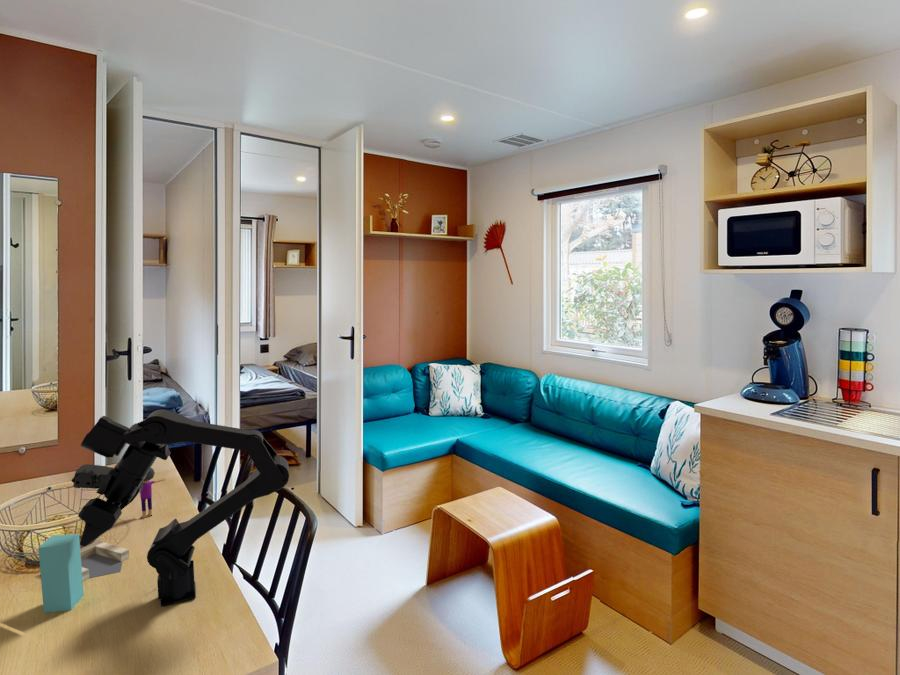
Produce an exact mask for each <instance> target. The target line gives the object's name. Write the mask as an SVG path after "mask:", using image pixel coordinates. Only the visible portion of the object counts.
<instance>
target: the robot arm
mask: <svg viewBox="0 0 900 675" xmlns="http://www.w3.org/2000/svg"><path fill="white" fill-rule="evenodd" d="M84 436H85V437H84V438H83V440H82V441H81V443H80V447H81V448H84V449H85V450H88V451H90V452H93V453H95V454H97V455H100V456H102V457H104V458H107V459H111V458H114V457H115V456H116V457H119V456H120V454H121V453H122V451H123V450H124V449H125V447H126V445H128V446H127V448H126V450H125V451H124V453H123V455H122V456H121V458H120V459H119V461H118V462H117V463H116V464H115V466H114V467H111V466H107V465H99V464H88V463H87V464H82V465H81V466H80V467H79V468H77V469H76V470H75V473H74V476H73V477H72V479H71V482H72V483H73V484H72V487H73V488H75V489H92V490H93V489H94V490H95V489H97V490H96V492H95V493H96V494H98V495H101V496H104V497H105V499H106V500H104V499H102V498H99V497H95V498H91V499H90V500H89V501H88V502H86V503H85V505H83V506H82V508H81V510H80V511H79V513H78V514H77V517H78V518H79V519H80V520H82V521H83V522H84V528H83V531H82V535H81V538H80V547H81V546H82V547H85V546H87V545H90V544H92V543H93V542H94V541H95V540H96V539H98V538H99V537H101V536H102V535H103V534H105V533H107V531H110V530H112V528H113V527H114V526H115V524H116V523H117V521H118V520H119V519H120V517H121V516H122V515H123V512H122V510H124V509H125V508H126V507H127V506H128V505H129V504H130V503H132V502H133V501H134V500H135V499H136V497H137V496H138V495H140V491H141V489H142V488H143V486H144V483H143V480H144V479H145V477H146V476H147V473H148V471H149V470H150V468H152V466H153V465H154V463H155V461H156V460H157V458H158V459H161V460H163V461H166V460H167V459H168V458H169V457H170V455H171V451H170V448H169V445H173V444H180V443H191V444H198V445H199V444H200V445H206V446H212V447H219V448H226V449H231V450H232V449H233V450H239V451H245V452H246V453H247V454H248V456H249V457H250V459H251V461H252V462H253V464H254V466H255V469H254V471H253V472H252V473H251V474H250V475H249V477H248V478H246V480H245V481H243V482H242V483H241V484H239V485H237V486H236V487H235V488H233V489H232V490H230V491H229V492H227V493H226V494H225V495H223V496H222V497H221V498H219V499H217V500H216V501H215V502H213V503H212V504H210V505H209V506H207V507H206V508H204V509H203V510H201V511H200V512H199V513H198V514H196V515H194V516H192V518H190V519H188V520H186V521H183V522H180V523H179V521H178V519H177V518H174V519H173V520H171V521H170V523H168V525H165V526H164V527H160V528H159V529H158V531H157V533H156V535H155V536H154V539H153V542H152V543H151V545H150V547H149V549H148V551H147V555H146V559H147V563H148V565H149V566H151V567H152V568H154V569H155V571H156V573H157V574H158V575H157V581H156V582H157V584H156V586H157V599H158V600H160V606H161V607H164V606H168V605H169V606H170V605H173V604H177V603H182V602H186V601H187V602H188V601H190V600H194V599H196V597H197V596H196V594H197V592H196V581H195V566H194V564H195V563H194V560H192V558H193V554H194V552H195V549H196V547H195V546H194V544H195V543H196V541H197V540H199V539H200V538H201V537H203V536H205V535H206V534H207V533H209V532H210V531H212V530H213V529H214V528H216V527H217V526H219V525H220V524H222V522H224V521H226V520H228V518H230V517H231V516H233V515H235V513H237V512H238V511H240V510H241V509H243V508H244V507H246V506H247V505H248V504H249V503H251V502H253V501H254V500H256V499H259V498H262V497H267V496H269V495H271V494H273V493H275V492H278V491H280V490H281V489H283V488H284V487H285V486H286V485H288V482H289V478H290V467H289V462H288V460H287V459H286V458H285V457H284V456H281V455H279V454H278V452H276V450H275V449H274V448H273V446H272V445H271V444H270V443H269V442H268V441H267V439H265V437H264V435H263V433H262V432H261V431H259V430H258V429H257V430H256V429H244V428H239V427H233V426H232V427H231V426H226V425H220V424H215V423H214V424H213V423H210V422H209V423H208V422H203V421H196V420H193V419H190V418H188V417H186V416H185V415H183V414H180V413H177V412H175V411H171V410H168V409H162V408H161V409H157V410H154V411H153V412H151V413H150V414H149V415H148V416H147V417H146V418H145V419H144V420H141V421H139V422H137V423H134V424H132V425H131V426H130V427H127V426H126V425H123V424H121V423H119V422H117V421H114V420H113V419H112V418H110V417H107V416H105V415H102V416H101V417H99V419H98V421H97V422H96V423H95V425H94V426H93V427H92V428H91V430H90V431H89V432H87V433H86V434H85V435H84Z"/></svg>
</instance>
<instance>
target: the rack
mask: <svg viewBox="0 0 900 675" xmlns="http://www.w3.org/2000/svg"><path fill="white" fill-rule="evenodd" d="M80 552H81V561H82V560H84V559H86V558H88V557H90V556H92V555H95V554H98V555H101V556H105V557H108V558H111V559H115V560H118V561H121V562H122V561H125V560H127V559H128V560H129V559H130V549H128V548H126V547H125V548H124V547H121V546H118V545H114V544H111V543H107V542H103V541H101V540H97V541H95V542H94V541H93V542H91V543H89V544H88V545H87V546H85V547H84V546H82V547H80ZM122 563H123V562H122ZM82 579H83V582H84V581H86V580H89V579H90V578H89V569H87V568H83V567H82Z"/></svg>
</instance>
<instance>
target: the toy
mask: <svg viewBox="0 0 900 675" xmlns="http://www.w3.org/2000/svg"><path fill="white" fill-rule="evenodd" d="M155 474H156V472H155V469H154V468H152V467H151V468H150V470H149V471H148V473H147V476H146V477H145V479H144V480H143V483H144V486H143V488H142V489H141V491H140V492H139V495H140V503H141V513H142V514H141V517H142V518H143V519H145V518H146V517H147V515H148V516H149V517H152V516H153V505H152V504H153V499H152V497H153V493H152V491H153V490H152V485H153V484H156V483H160V482H163V481H166V478H161V479H157V480H153V481H151V480H152V479H153V478H154V476H155ZM146 501H147V503H146ZM146 511H148V513H147V512H146ZM151 515H152V516H151Z"/></svg>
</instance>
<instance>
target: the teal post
mask: <svg viewBox="0 0 900 675" xmlns="http://www.w3.org/2000/svg"><path fill="white" fill-rule="evenodd" d="M80 541H81V538H80V533H74V534H71V533H70V534H57V535H51V536H50V537H49V538H47V540H46V541H44V542H43V543H42V544H40V545H39V546H38V559H39V570H40V571H39V572H40V573H39V574H40V583H41V595H42V606H43V613H51V612H53V613H55V612H64V611H72V610H73V609H74V608H75V606H76V605H78V603H79V602H80V601H81V600H82V598H83V597H84V596H85V595H84V581H83V579H82V566H81V552H80V549H81V545H80Z"/></svg>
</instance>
